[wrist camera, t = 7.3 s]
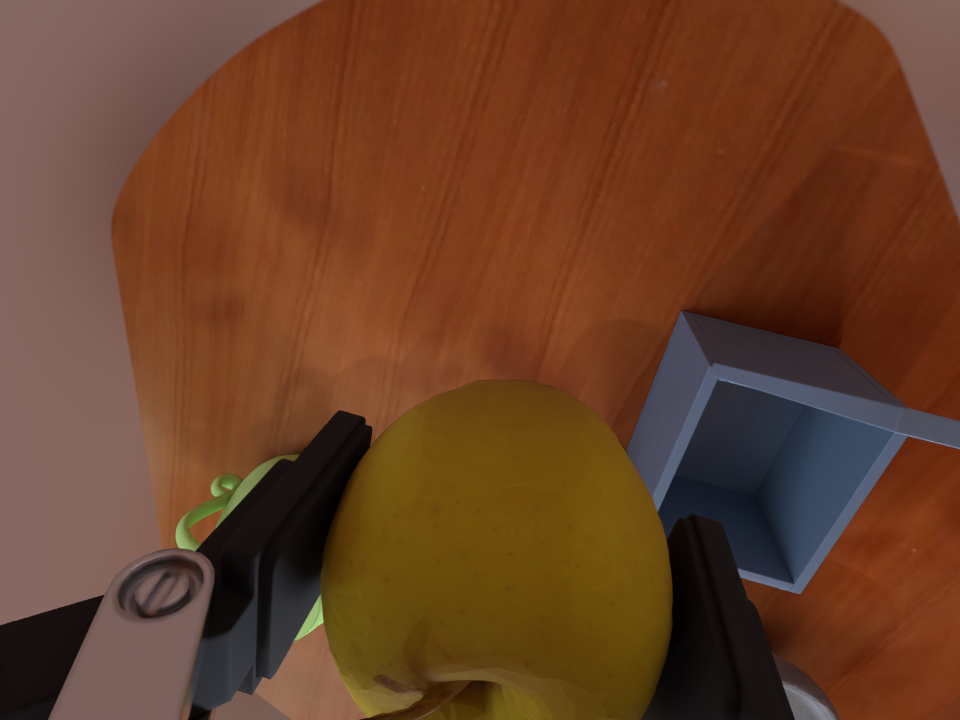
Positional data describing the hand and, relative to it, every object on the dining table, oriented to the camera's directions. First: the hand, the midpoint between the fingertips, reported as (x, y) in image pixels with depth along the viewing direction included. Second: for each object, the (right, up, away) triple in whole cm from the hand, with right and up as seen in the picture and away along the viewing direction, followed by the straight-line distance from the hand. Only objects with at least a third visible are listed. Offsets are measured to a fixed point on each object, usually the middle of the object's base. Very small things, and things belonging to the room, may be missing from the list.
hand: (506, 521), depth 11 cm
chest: (+20, -1, +34) cm, 39 cm away
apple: (+1, +1, +3) cm, 3 cm away
